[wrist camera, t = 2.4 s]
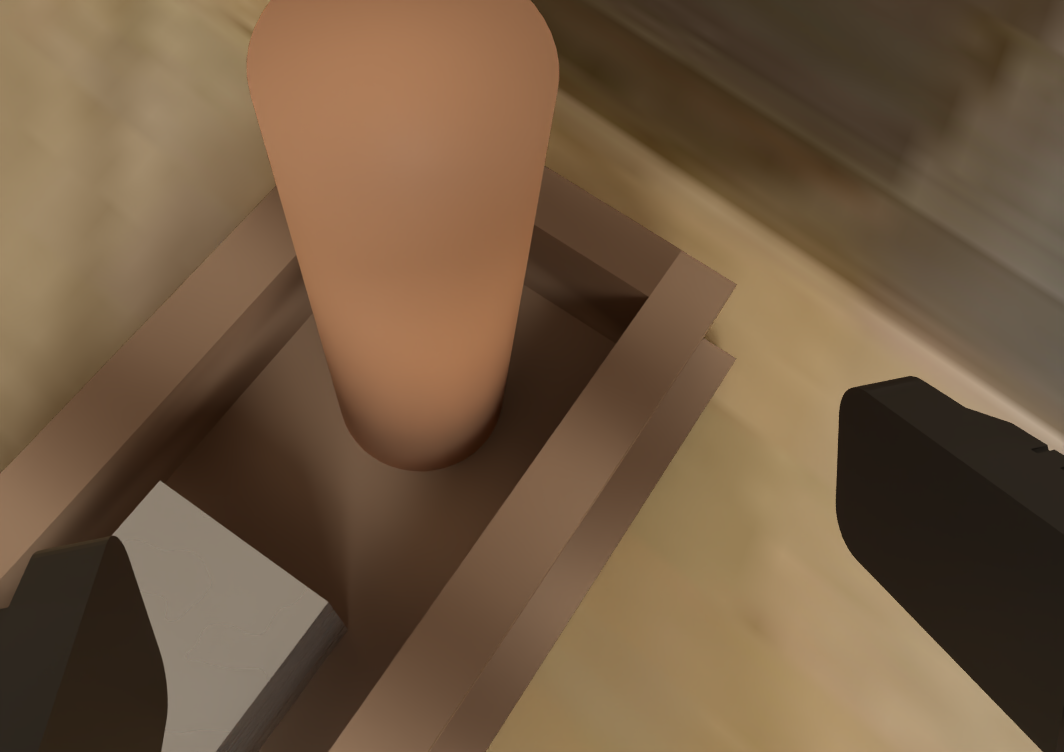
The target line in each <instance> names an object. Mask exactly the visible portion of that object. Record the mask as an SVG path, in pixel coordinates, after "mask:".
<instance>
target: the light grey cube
mask: <svg viewBox="0 0 1064 752" xmlns="http://www.w3.org/2000/svg"><path fill="white" fill-rule="evenodd" d="M112 536H116V537H118V538H119V539H120V540H121V542H122V543H123V545H124V547H125V549H126V551H127V554H128V556H129V559H130V562H131V565H132V568H133V571H134V574H135V577H136V580H137V583H138V586H139V589H140V592H141V595H142V598H143V601H144V604H145V608H146V611H147V614H148V617H149V620H150V623H151V626H152V629H153V632H154V635H155V638H156V641H157V644H158V647H159V650H160V653H161V656H162V660H163V664H164V669H165V675H166V682H167V693H168V713H167V721H166V727H165V733H164V739H163V745H162V751H161V752H258V751H259V750H260V748H261V747H262V745H263V744H264V743H265V741H266V740H267V739H268V737H269V736H270V735H271V733H272V732H273V730H274V729H275V728H276V726H277V725H278V724H279V722H280V721H281V720H282V718H283V717H284V716H285V714H286V713H287V711H288V710H289V709H290V707H291V706H292V705H293V703H294V702H295V701H296V699H297V698H298V696H299V695H300V694H301V692H302V691H303V690H304V688H305V687H306V686H307V684H308V683H309V682H310V680H311V679H312V677H313V676H314V675H315V673H316V672H317V671H318V669H319V668H320V667H321V665H322V664H323V662H324V661H325V660H326V658H327V657H328V656H329V654H330V653H331V652H332V650H333V649H334V647H335V646H336V645H337V643H338V642H339V641H340V639H341V638H342V637H343V635H344V634H345V633H346V631H347V630H348V629H347V627H346V626H345V625H344V623H343V622H342V620H341V619H340V618H339V616H338V615H337V613H336V612H335V611H334V609H333V608H332V607H331V605H330V604H329V602H327V601H326V600H325V599H323V598H322V597H321V596H319V595H318V594H316V593H315V592H314V591H312V590H311V589H310V588H308V587H307V586H305V585H304V584H303V583H301V582H300V581H298V580H297V579H296V578H294V577H293V576H292V575H290V574H289V573H287V572H286V571H285V570H283V569H282V568H280V567H279V566H278V565H276V564H275V563H274V562H272V561H271V560H269V559H268V558H267V557H265V556H264V555H262V554H261V553H260V552H258V551H257V550H256V549H254V548H253V547H251V546H250V545H249V544H247V543H246V542H244V541H243V540H242V539H240V538H239V537H238V536H236V535H235V534H233V533H232V532H231V531H229V530H228V529H226V528H225V527H224V526H222V525H221V524H220V523H218V522H217V521H215V520H214V519H213V518H211V517H210V516H208V515H207V514H206V513H204V512H203V511H202V510H200V509H199V508H197V507H196V506H195V505H193V504H192V503H190V502H189V501H188V500H186V499H185V498H184V497H182V496H181V495H179V494H178V493H177V492H175V491H174V490H172V489H171V488H170V487H168V486H167V485H166V484H164V483H163V482H161V481H159V482H158V483H157V484H156V486H155V487H154V488H153V489H152V490H151V491H150V492H149V494H148V495H147V496H146V497H145V498H144V499H143V500H142V501H141V503H140V504H139V505H138V506H137V507H136V508H135V509H134V511H133V512H132V513H131V514H130V515H129V516H128V517H127V519H126V520H125V521H124V522H123V523H122V524H121V525H120V527H119V528H118V529H117V530H116V531H115V532H114V533H113V535H112Z"/></svg>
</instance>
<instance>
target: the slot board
mask: <svg viewBox="0 0 1064 752" xmlns="http://www.w3.org/2000/svg"><path fill="white" fill-rule="evenodd" d="M736 285H737V284H735V283H734V282H732V281H730V280H729V279H727V278H726V277H724V276H722V275H721V274H719V273H718V272H716V271H714V270H713V269H711V268H709V267H708V266H706V265H705V264H703V263H701V262H700V261H698V260H696V259H695V258H693V257H692V256H690V255H688V254H687V253H685V252H684V251H682V250H680V249H679V248H677V247H675V246H674V245H672V244H671V243H669V242H667V241H666V240H664V239H662V238H661V237H659V236H658V235H656V234H654V233H653V232H651V231H649V230H648V229H646V228H645V227H643V226H641V225H640V224H638V223H637V222H635V221H633V220H632V219H630V218H628V217H627V216H625V215H624V214H622V213H620V212H619V211H617V210H615V209H614V208H612V207H611V206H609V205H607V204H606V203H604V202H603V201H601V200H599V199H598V198H596V197H594V196H593V195H591V194H590V193H588V192H586V191H585V190H583V189H581V188H580V187H578V186H577V185H575V184H573V183H572V182H570V181H569V180H567V179H565V178H564V177H562V176H560V175H559V174H557V173H556V172H554V171H552V170H551V169H549V168H547V167H546V166H544V171H543V176H542V182H541V188H540V193H539V199H538V205H537V210H536V216H535V222H534V227H533V233H532V239H531V244H530V250H529V256H528V261H527V267H526V273H525V278H524V284H523V289H522V295H521V301H520V306H519V312H518V318H517V323H516V329H515V335H514V340H513V346H512V352H511V357H510V363H509V369H508V374H507V380H506V385H505V391H504V397H503V402H502V408H501V412H500V416H499V419H498V422H497V424H496V426H495V428H494V430H493V432H492V433H491V435H490V436H489V438H488V439H487V440H486V442H485V443H484V444H483V445H482V446H481V447H480V448H479V449H478V450H477V451H476V452H475V453H473V454H472V455H470V456H469V457H468V458H466V459H464V460H463V461H461V462H459V463H457V464H455V465H452V466H449V467H446V468H443V469H438V470H433V471H409V470H402V469H398V468H395V467H391V466H389V465H387V464H384V463H382V462H380V461H379V460H377V459H375V458H374V457H372V456H371V455H369V454H368V453H367V452H366V451H364V450H363V449H362V448H361V447H360V446H359V444H358V443H357V442H356V441H355V440H354V438H353V437H352V435H351V434H350V432H349V430H348V428H347V427H346V425H345V422H344V419H343V416H342V413H341V409H340V406H339V402H338V399H337V395H336V392H335V388H334V385H333V381H332V378H331V374H330V371H329V367H328V364H327V360H326V357H325V353H324V350H323V346H322V343H321V339H320V336H319V332H318V329H317V325H316V322H315V319H314V315H313V312H312V308H311V305H310V301H309V298H308V294H307V291H306V287H305V284H304V280H303V277H302V273H301V270H300V266H299V263H298V259H297V256H296V252H295V249H294V245H293V242H292V238H291V235H290V231H289V228H288V224H287V221H286V217H285V214H284V210H283V207H282V203H281V200H280V196H279V193H278V189H277V186H275V187H274V188H273V189H272V190H271V191H270V192H269V194H268V195H267V196H266V197H265V198H264V199H263V200H262V201H261V202H260V203H259V204H258V205H257V206H256V207H255V208H254V209H253V210H252V211H251V212H250V213H249V214H248V215H247V216H246V218H245V219H244V220H243V221H242V222H241V223H240V224H239V225H238V226H237V227H236V228H235V229H234V230H233V231H232V232H231V233H230V234H229V235H228V236H227V237H226V238H225V239H224V241H223V242H222V243H221V244H220V245H219V246H218V247H217V248H216V249H215V250H214V251H213V252H212V253H211V254H210V255H209V256H208V257H207V258H206V259H205V260H204V261H203V262H202V263H201V265H200V266H199V267H198V268H197V269H196V270H195V271H194V272H193V273H192V274H191V275H190V276H189V277H188V278H187V279H186V280H185V281H184V282H183V283H182V284H181V285H180V286H179V287H178V289H177V290H176V291H175V292H174V293H173V294H172V295H171V296H170V297H169V298H168V299H167V300H166V301H165V302H164V303H163V304H162V305H161V306H160V307H159V308H158V309H157V310H156V311H155V313H154V314H153V315H152V316H151V317H150V318H149V319H148V320H147V321H146V322H145V323H144V324H143V325H142V326H141V327H140V328H139V329H138V330H137V331H136V332H135V333H134V334H133V336H132V337H131V338H130V339H129V340H128V341H127V342H126V343H125V344H124V345H123V346H122V347H121V348H120V349H119V350H118V351H117V352H116V353H115V354H114V355H113V356H112V357H111V358H110V360H109V361H108V362H107V363H106V364H105V365H104V366H103V367H102V368H101V369H100V370H99V371H98V372H97V373H96V374H95V375H94V376H93V377H92V378H91V379H90V380H89V381H88V382H87V384H86V385H85V386H84V387H83V388H82V389H81V390H80V391H79V392H78V393H77V394H76V395H75V396H74V397H73V398H72V399H71V400H70V401H69V402H68V403H67V404H66V405H65V406H64V408H63V409H62V410H61V411H60V412H59V413H58V414H57V415H56V416H55V417H54V418H53V419H52V420H51V421H50V422H49V423H48V424H47V425H46V426H45V427H44V428H43V429H42V431H41V432H40V433H39V434H38V435H37V436H36V437H35V438H34V439H33V440H32V441H31V442H30V443H29V444H28V445H27V446H26V447H25V448H24V449H23V450H22V451H21V452H20V453H19V455H18V456H17V457H16V458H15V459H14V460H13V461H12V462H11V463H10V464H9V465H8V466H7V467H6V468H5V469H4V470H3V471H2V472H1V473H0V609H2V608H7V607H9V605H10V602H11V600H12V598H13V596H14V594H15V591H16V589H17V587H18V585H19V583H20V580H21V578H22V576H23V574H24V571H25V569H26V567H27V565H28V563H29V560H30V558H31V557H32V555H33V554H34V553H35V552H36V551H39V550H44V549H49V548H54V547H59V546H64V545H69V544H74V543H79V542H84V541H89V540H94V539H98V538H103V537H108V536H112V535H113V533H114V532H115V531H116V530H117V529H118V528H119V527H120V525H121V524H122V523H123V522H124V521H125V520H126V519H127V517H128V516H129V515H130V514H131V513H132V512H133V511H134V509H135V508H136V507H137V506H138V505H139V504H140V503H141V501H142V500H143V499H144V498H145V497H146V496H147V495H148V494H149V492H150V491H151V490H152V489H153V488H154V487H155V486H156V484H157V483H158V482H159V481H161V482H163V483H164V484H166V485H167V486H168V487H170V488H171V489H172V490H174V491H175V492H177V493H178V494H179V495H181V496H182V497H184V498H185V499H186V500H188V501H189V502H190V503H192V504H193V505H195V506H196V507H197V508H199V509H200V510H202V511H203V512H204V513H206V514H207V515H208V516H210V517H211V518H213V519H214V520H215V521H217V522H218V523H220V524H221V525H222V526H224V527H225V528H226V529H228V530H229V531H231V532H232V533H233V534H235V535H236V536H238V537H239V538H240V539H242V540H243V541H244V542H246V543H247V544H249V545H250V546H251V547H253V548H254V549H256V550H257V551H258V552H260V553H261V554H262V555H264V556H265V557H267V558H268V559H269V560H271V561H272V562H274V563H275V564H276V565H278V566H279V567H280V568H282V569H283V570H285V571H286V572H287V573H289V574H290V575H292V576H293V577H294V578H296V579H297V580H298V581H300V582H301V583H303V584H304V585H305V586H307V587H308V588H310V589H311V590H312V591H314V592H315V593H316V594H318V595H319V596H321V597H322V598H323V599H325V600H326V601H327V602H329V604H330V605H331V607H332V608H333V609H334V611H335V612H336V613H337V615H338V616H339V618H340V619H341V620H342V622H343V623H344V625H345V626H346V627H347V629H348V630H347V631H346V633H345V634H344V635H343V637H342V638H341V639H340V641H339V642H338V643H337V645H336V646H335V647H334V649H333V650H332V652H331V653H330V654H329V656H328V657H327V658H326V660H325V661H324V662H323V664H322V665H321V667H320V668H319V669H318V671H317V672H316V673H315V675H314V676H313V677H312V679H311V680H310V682H309V683H308V684H307V686H306V687H305V688H304V690H303V691H302V692H301V694H300V695H299V696H298V698H297V699H296V701H295V702H294V703H293V705H292V706H291V707H290V709H289V710H288V711H287V713H286V714H285V716H284V717H283V718H282V720H281V721H280V722H279V724H278V725H277V726H276V728H275V729H274V730H273V732H272V733H271V735H270V736H269V737H268V739H267V740H266V741H265V743H264V744H263V745H262V747H261V748H260V750H259V751H258V752H486V750H487V749H488V747H489V746H490V744H491V742H492V741H493V739H494V738H495V736H496V735H497V733H498V731H499V730H500V728H501V727H502V725H503V724H504V722H505V720H506V719H507V717H508V716H509V714H510V713H511V711H512V710H513V708H514V706H515V705H516V703H517V702H518V700H519V699H520V697H521V695H522V694H523V692H524V691H525V689H526V688H527V686H528V684H529V683H530V681H531V680H532V678H533V677H534V675H535V673H536V672H537V670H538V669H539V667H540V666H541V664H542V663H543V661H544V659H545V658H546V656H547V655H548V653H549V652H550V650H551V648H552V647H553V645H554V644H555V642H556V641H557V639H558V637H559V636H560V634H561V633H562V631H563V630H564V628H565V626H566V625H567V623H568V622H569V620H570V619H571V617H572V615H573V614H574V612H575V611H576V609H577V608H578V606H579V605H580V603H581V601H582V600H583V598H584V597H585V595H586V594H587V592H588V590H589V589H590V587H591V586H592V584H593V583H594V581H595V579H596V578H597V576H598V575H599V573H600V572H601V570H602V568H603V567H604V565H605V564H606V562H607V561H608V559H609V558H610V556H611V554H612V553H613V551H614V550H615V548H616V547H617V545H618V543H619V542H620V540H621V539H622V537H623V536H624V534H625V532H626V531H627V529H628V528H629V526H630V525H631V523H632V521H633V520H634V518H635V517H636V515H637V514H638V512H639V510H640V509H641V507H642V506H643V504H644V503H645V501H646V500H647V498H648V496H649V495H650V493H651V492H652V490H653V489H654V487H655V485H656V484H657V482H658V481H659V479H660V478H661V476H662V474H663V473H664V471H665V470H666V468H667V467H668V465H669V463H670V462H671V460H672V459H673V457H674V456H675V454H676V453H677V451H678V449H679V448H680V446H681V445H682V443H683V442H684V440H685V438H686V437H687V435H688V434H689V432H690V431H691V429H692V427H693V426H694V424H695V423H696V421H697V420H698V418H699V416H700V415H701V413H702V412H703V410H704V409H705V407H706V405H707V404H708V402H709V401H710V399H711V398H712V396H713V395H714V393H715V391H716V390H717V388H718V387H719V385H720V384H721V382H722V380H723V379H724V377H725V376H726V374H727V373H728V371H729V369H730V368H731V366H732V365H733V363H734V362H735V360H736V358H735V357H733V356H731V355H730V354H728V353H727V352H725V351H723V350H722V349H720V348H719V347H717V346H716V345H714V344H712V343H711V342H709V341H708V340H706V339H704V336H705V335H706V333H707V331H708V330H709V328H710V327H711V325H712V324H713V322H714V320H715V319H716V317H717V316H718V314H719V312H720V311H721V309H722V308H723V306H724V304H725V303H726V301H727V300H728V298H729V296H730V295H731V293H732V292H733V290H734V289H735V287H736Z"/></svg>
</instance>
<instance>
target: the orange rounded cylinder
mask: <svg viewBox="0 0 1064 752" xmlns="http://www.w3.org/2000/svg"><path fill="white" fill-rule="evenodd" d="M247 80H248V85H249V90H250V95H251V98H252V102H253V105H254V109H255V112H256V116H257V119H258V123H259V126H260V130H261V133H262V137H263V140H264V144H265V147H266V151H267V154H268V158H269V161H270V165H271V168H272V172H273V175H274V179H275V182H276V186H277V189H278V193H279V196H280V200H281V203H282V207H283V210H284V214H285V217H286V221H287V224H288V228H289V231H290V235H291V238H292V242H293V245H294V249H295V252H296V256H297V259H298V263H299V266H300V270H301V273H302V277H303V280H304V284H305V287H306V291H307V294H308V298H309V301H310V305H311V308H312V312H313V315H314V319H315V322H316V325H317V329H318V332H319V336H320V339H321V343H322V346H323V350H324V353H325V357H326V360H327V364H328V367H329V371H330V374H331V378H332V381H333V385H334V388H335V392H336V395H337V399H338V402H339V406H340V409H341V413H342V416H343V419H344V422H345V425H346V427H347V428H348V430H349V432H350V434H351V435H352V437H353V438H354V440H355V441H356V442H357V443H358V444H359V446H360V447H361V448H362V449H363V450H364V451H366V452H367V453H368V454H369V455H371V456H372V457H374V458H375V459H377V460H379V461H380V462H382V463H384V464H387V465H389V466H391V467H395V468H398V469H402V470H409V471H433V470H438V469H443V468H446V467H449V466H452V465H455V464H457V463H459V462H461V461H463V460H464V459H466V458H468V457H469V456H470V455H472V454H473V453H475V452H476V451H477V450H478V449H479V448H480V447H481V446H482V445H483V444H484V443H485V442H486V440H487V439H488V438H489V436H490V435H491V433H492V432H493V430H494V428H495V426H496V424H497V422H498V419H499V416H500V412H501V408H502V402H503V397H504V391H505V385H506V380H507V374H508V369H509V363H510V357H511V352H512V346H513V340H514V335H515V329H516V323H517V318H518V312H519V306H520V301H521V295H522V289H523V284H524V278H525V273H526V267H527V261H528V256H529V250H530V244H531V239H532V233H533V227H534V222H535V216H536V210H537V205H538V199H539V193H540V188H541V182H542V176H543V171H544V165H545V160H546V154H547V148H548V143H549V137H550V131H551V126H552V120H553V114H554V109H555V103H556V97H557V91H558V84H559V61H558V55H557V50H556V46H555V43H554V40H553V37H552V34H551V32H550V30H549V28H548V26H547V24H546V22H545V20H544V18H543V16H542V15H541V14H540V12H539V11H538V9H537V8H536V6H535V5H534V4H533V3H532V2H531V0H271V1H270V2H269V4H268V5H267V6H266V8H265V9H264V11H263V12H262V14H261V16H260V18H259V20H258V22H257V24H256V26H255V28H254V30H253V33H252V36H251V40H250V43H249V48H248V55H247Z"/></svg>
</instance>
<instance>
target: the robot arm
mask: <svg viewBox="0 0 1064 752" xmlns="http://www.w3.org/2000/svg"><path fill="white" fill-rule="evenodd" d="M1047 446H1048V445H1046V444H1045V443H1043V442H1041V441H1040V440H1038V439H1037V438H1035V437H1033V436H1032V435H1030V434H1028V433H1027V432H1025V431H1024V430H1022V429H1020V428H1019V427H1017V426H1015V425H1014V424H1012V423H1010V422H1007V421H1004V420H1001V419H998V418H995V417H992V416H989V415H986V414H983V413H980V412H977V411H974V410H971V409H968V408H965V407H964V406H962V405H960V404H959V403H957V402H956V401H954V400H953V399H951V398H950V397H948V396H946V395H945V394H943V393H942V392H940V391H939V390H937V389H935V388H934V387H932V386H931V385H929V384H928V383H926V382H924V381H923V380H921V379H919V378H917V377H913V376H908V377H903V378H898V379H893V380H888V381H883V382H878V383H873V384H868V385H863V386H858V387H853V388H850V389H848V390H847V391H846V392H845V394H844V395H843V397H842V400H841V404H840V410H839V433H838V459H837V485H836V514H837V520H838V524H839V528H840V531H841V534H842V537H843V539H844V541H845V543H846V545H847V547H848V549H849V551H850V552H851V553H852V555H853V556H854V557H855V558H856V560H857V561H858V562H859V563H860V564H861V565H862V566H863V567H864V568H865V569H866V570H867V571H868V572H869V573H870V574H871V575H872V576H873V577H874V578H875V579H876V580H877V581H878V582H879V583H880V584H881V585H882V586H883V587H884V588H885V590H886V591H887V592H888V593H889V594H890V595H891V596H892V597H893V598H894V599H895V600H896V601H897V602H898V603H899V604H900V605H901V606H902V607H903V608H904V609H905V610H906V611H907V612H908V613H909V614H910V615H911V616H912V617H913V618H914V619H915V620H916V621H917V622H918V624H919V625H920V626H921V627H922V628H923V629H924V630H925V631H926V632H927V633H928V634H929V635H930V636H931V637H932V638H933V639H934V640H935V641H936V642H937V643H938V644H939V645H940V646H941V647H942V648H943V649H944V650H945V651H946V652H947V653H948V654H949V655H950V656H951V658H952V659H953V660H954V661H955V662H956V663H957V664H958V665H959V666H960V667H961V668H962V669H963V670H964V671H965V672H966V673H967V674H968V675H969V676H970V677H971V678H972V679H973V680H974V681H975V682H976V683H977V684H978V685H979V686H980V687H981V688H982V689H983V690H984V691H985V693H986V694H987V695H988V696H989V697H990V698H991V699H992V700H993V701H994V702H995V703H996V704H997V705H998V706H999V707H1000V708H1001V709H1002V710H1003V711H1004V712H1005V713H1006V714H1007V715H1008V716H1009V717H1010V718H1011V719H1012V720H1013V721H1014V722H1015V723H1016V724H1017V725H1018V727H1019V728H1020V729H1021V730H1022V731H1023V732H1024V733H1025V734H1026V735H1027V736H1028V737H1029V738H1030V739H1031V740H1032V741H1033V742H1034V743H1035V744H1036V745H1037V746H1038V747H1039V748H1040V749H1041V750H1042V751H1043V752H1064V455H1062V454H1061V453H1059V452H1058V451H1056V450H1051V451H1049V450H1048V447H1047ZM167 713H168V693H167V682H166V675H165V669H164V664H163V660H162V656H161V653H160V650H159V647H158V644H157V641H156V638H155V635H154V632H153V629H152V626H151V623H150V620H149V617H148V614H147V611H146V608H145V604H144V601H143V598H142V595H141V592H140V589H139V586H138V583H137V580H136V577H135V574H134V571H133V568H132V565H131V562H130V559H129V556H128V554H127V551H126V549H125V547H124V545H123V543H122V542H121V540H120V539H119V538H118V537H116V536H108V537H103V538H98V539H94V540H89V541H84V542H79V543H74V544H69V545H64V546H59V547H54V548H49V549H44V550H39V551H36V552H35V553H34V554H33V555H32V557H31V558H30V560H29V563H28V565H27V567H26V569H25V571H24V574H23V576H22V578H21V580H20V583H19V585H18V587H17V589H16V591H15V594H14V596H13V598H12V600H11V602H10V605H9V607H7V608H2V609H0V752H161V751H162V745H163V739H164V733H165V727H166V721H167Z"/></svg>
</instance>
